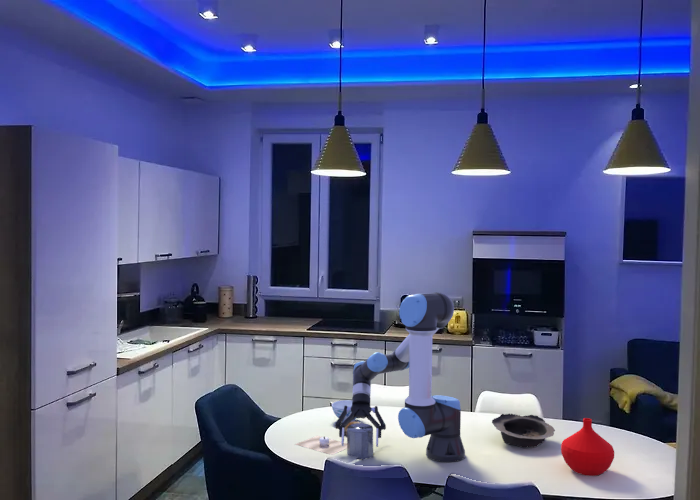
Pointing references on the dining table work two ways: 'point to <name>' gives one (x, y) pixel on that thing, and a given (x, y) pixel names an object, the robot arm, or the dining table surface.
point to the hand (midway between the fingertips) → (359, 445)
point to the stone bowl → (523, 429)
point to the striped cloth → (315, 445)
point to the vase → (587, 451)
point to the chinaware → (342, 408)
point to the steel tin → (360, 440)
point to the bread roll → (347, 426)
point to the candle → (324, 441)
